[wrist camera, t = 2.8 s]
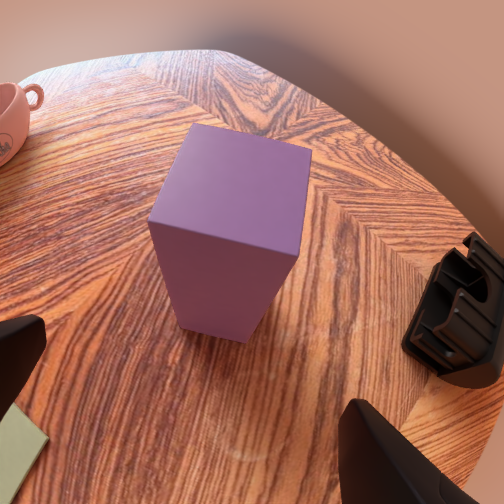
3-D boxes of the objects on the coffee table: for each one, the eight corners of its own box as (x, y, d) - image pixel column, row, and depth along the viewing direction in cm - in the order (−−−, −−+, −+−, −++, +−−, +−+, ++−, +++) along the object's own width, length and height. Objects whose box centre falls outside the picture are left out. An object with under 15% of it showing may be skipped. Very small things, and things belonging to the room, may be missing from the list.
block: (246, 343, 21) (299, 257, 9) (179, 327, 20) (146, 220, 9) (259, 282, 23) (312, 148, 11) (196, 267, 23) (192, 122, 11)
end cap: (453, 395, 20) (514, 382, 14) (395, 352, 21) (453, 328, 15) (484, 302, 25) (533, 273, 19) (435, 259, 26) (481, 220, 20)
